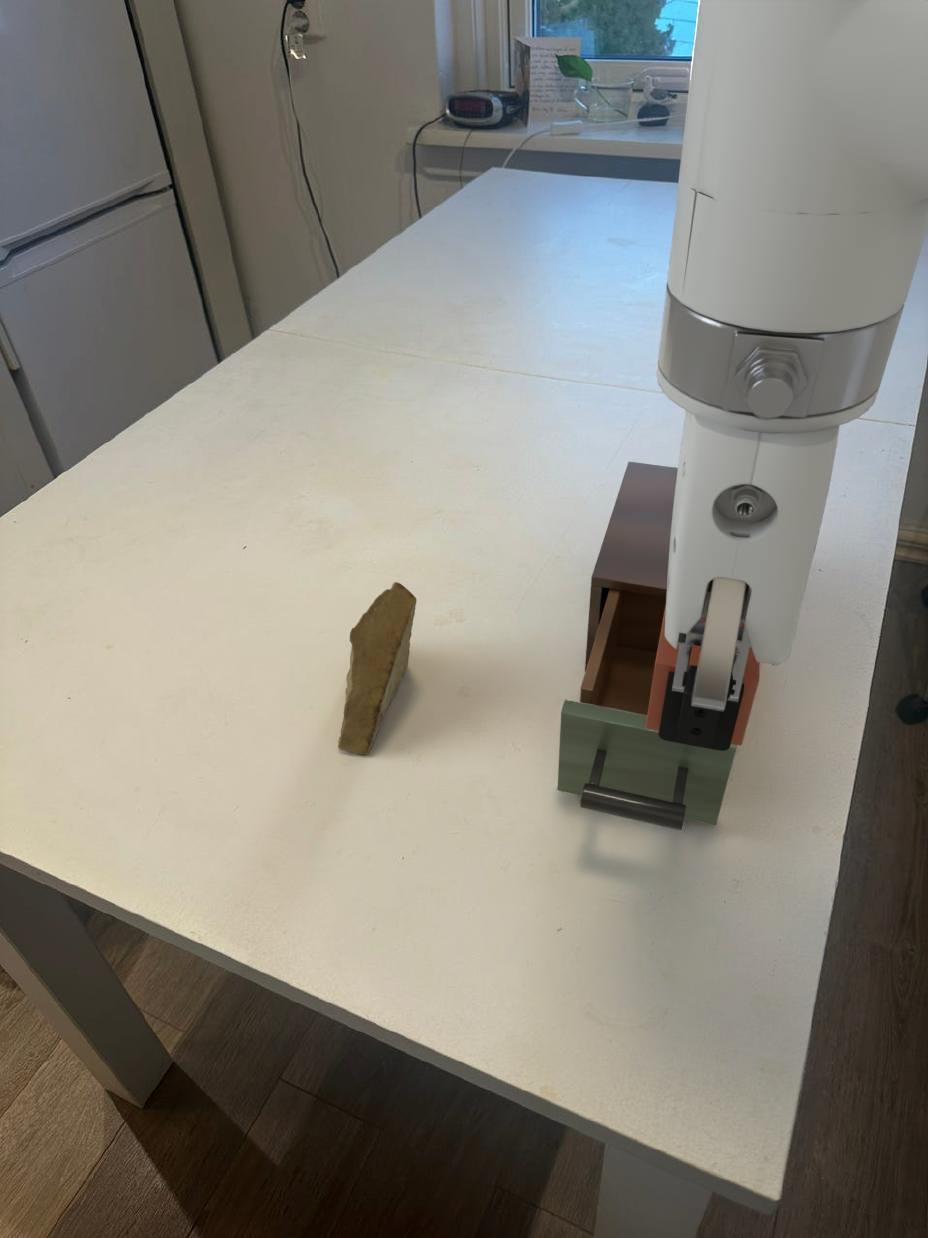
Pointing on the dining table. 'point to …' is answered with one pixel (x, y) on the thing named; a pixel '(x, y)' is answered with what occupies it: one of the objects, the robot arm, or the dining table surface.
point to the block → (668, 664)
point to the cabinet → (635, 540)
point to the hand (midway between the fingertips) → (698, 698)
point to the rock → (376, 665)
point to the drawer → (633, 730)
